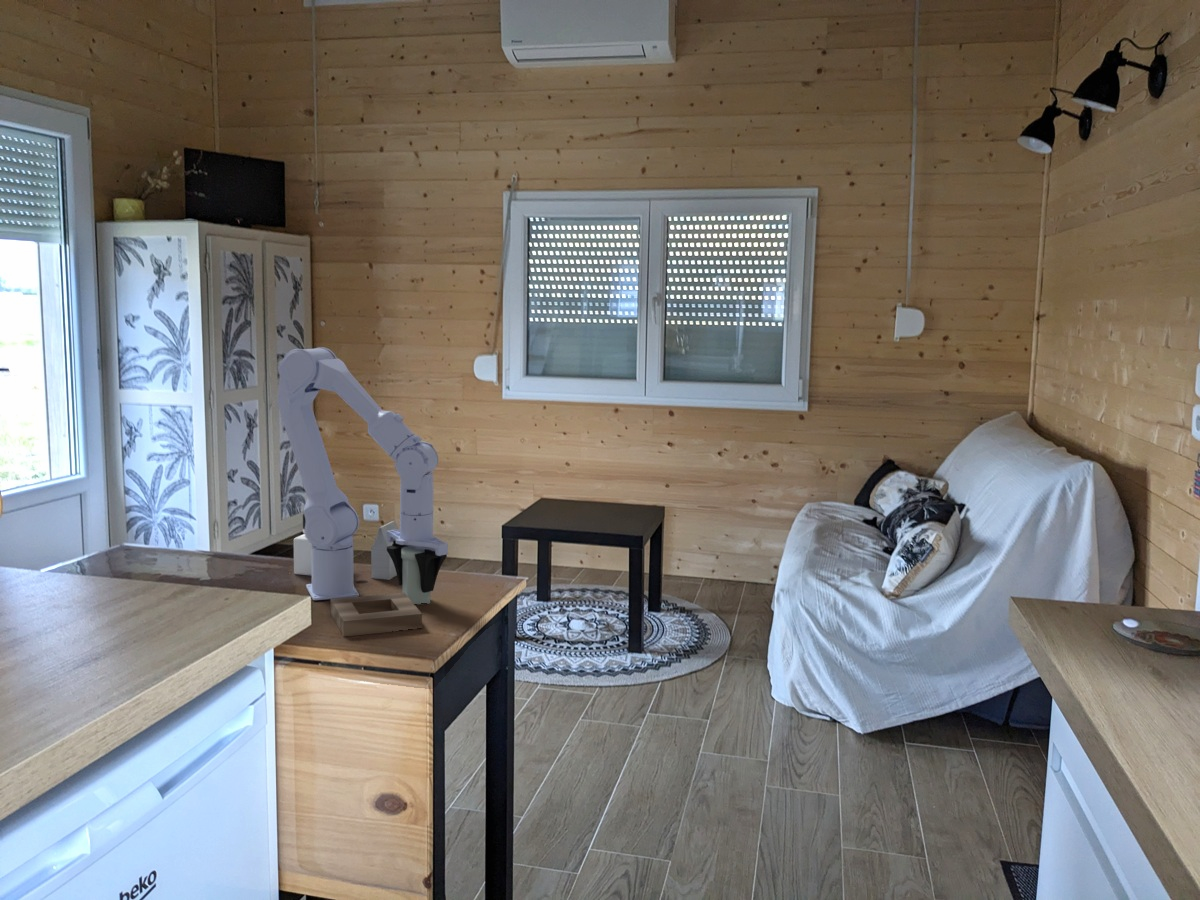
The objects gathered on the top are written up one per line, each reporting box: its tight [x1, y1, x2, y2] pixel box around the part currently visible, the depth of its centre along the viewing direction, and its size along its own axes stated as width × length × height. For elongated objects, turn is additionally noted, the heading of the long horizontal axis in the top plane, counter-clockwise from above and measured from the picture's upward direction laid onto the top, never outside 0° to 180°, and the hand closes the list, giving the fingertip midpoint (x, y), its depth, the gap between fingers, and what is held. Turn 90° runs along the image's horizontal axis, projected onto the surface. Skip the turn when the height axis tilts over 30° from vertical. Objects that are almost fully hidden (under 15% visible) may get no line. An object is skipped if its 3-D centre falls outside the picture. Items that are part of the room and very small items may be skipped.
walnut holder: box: [330, 592, 423, 637], centre depth 164 cm, size 12×12×2 cm
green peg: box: [401, 546, 431, 605], centre depth 175 cm, size 5×5×10 cm
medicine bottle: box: [293, 513, 312, 577], centre depth 192 cm, size 7×7×12 cm
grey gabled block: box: [370, 520, 399, 580], centre depth 192 cm, size 4×7×10 cm, turn 168°
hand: (416, 587), depth 176 cm, fingers open, 6 cm apart
